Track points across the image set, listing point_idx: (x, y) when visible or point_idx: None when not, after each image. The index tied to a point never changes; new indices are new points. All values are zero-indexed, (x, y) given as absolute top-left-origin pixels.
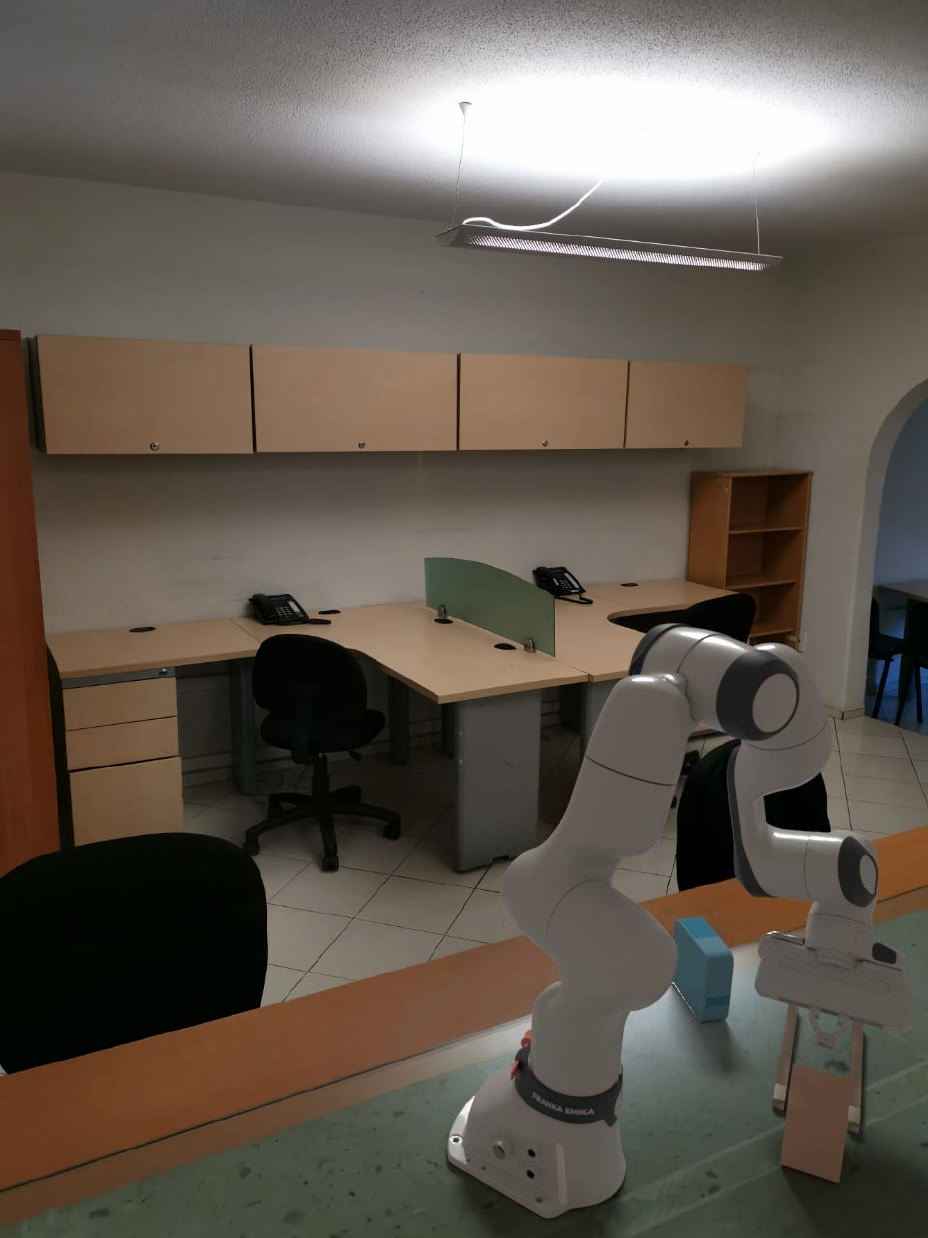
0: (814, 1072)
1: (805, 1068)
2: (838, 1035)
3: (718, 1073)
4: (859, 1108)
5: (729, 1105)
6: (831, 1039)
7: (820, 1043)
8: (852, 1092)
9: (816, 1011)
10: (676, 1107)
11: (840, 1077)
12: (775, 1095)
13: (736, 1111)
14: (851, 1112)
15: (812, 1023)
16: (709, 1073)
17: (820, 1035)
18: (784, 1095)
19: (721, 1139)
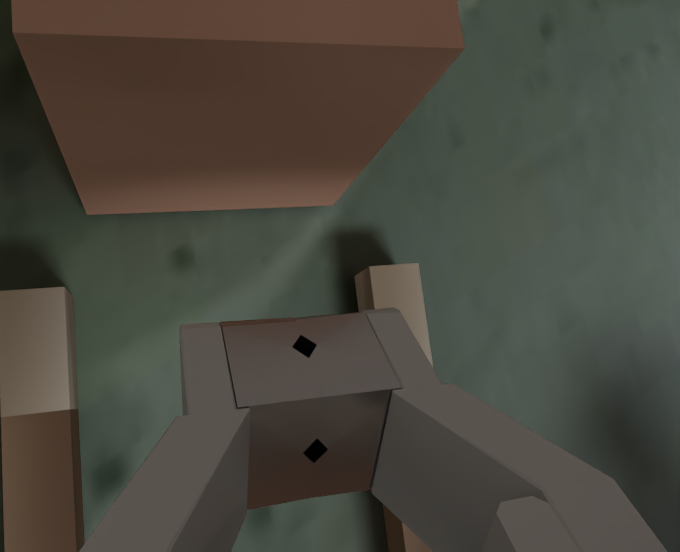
0: (308, 2)
1: (377, 22)
2: (188, 416)
3: (628, 361)
4: (6, 418)
5: (537, 200)
6: (254, 363)
7: (339, 317)
8: (56, 537)
9: (573, 547)
10: (672, 104)
11: (101, 19)
12: (413, 282)
13: (507, 181)
14: (49, 358)
15: (509, 418)
16: (653, 341)
17: (372, 358)
18: (379, 302)
19: (507, 22)
